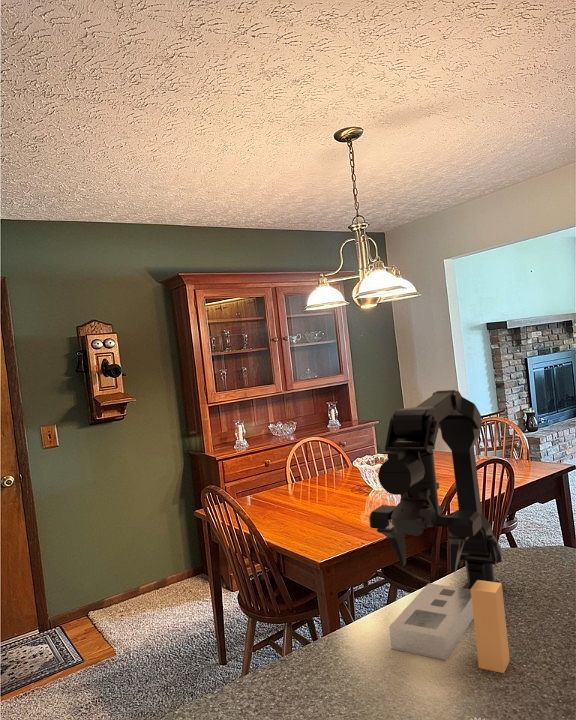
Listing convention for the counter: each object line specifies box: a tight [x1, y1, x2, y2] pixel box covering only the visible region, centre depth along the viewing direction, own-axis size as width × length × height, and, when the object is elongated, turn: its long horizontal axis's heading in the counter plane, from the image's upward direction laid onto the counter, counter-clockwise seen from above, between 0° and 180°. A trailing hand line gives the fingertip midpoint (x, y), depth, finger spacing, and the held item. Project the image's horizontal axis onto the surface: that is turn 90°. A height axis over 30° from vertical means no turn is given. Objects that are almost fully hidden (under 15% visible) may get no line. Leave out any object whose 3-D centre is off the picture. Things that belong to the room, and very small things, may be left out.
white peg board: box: [388, 583, 474, 661], centre depth 107 cm, size 20×10×4 cm, turn 146°
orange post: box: [470, 580, 511, 674], centre depth 94 cm, size 4×4×13 cm
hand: (428, 568), depth 100 cm, fingers open, 9 cm apart
